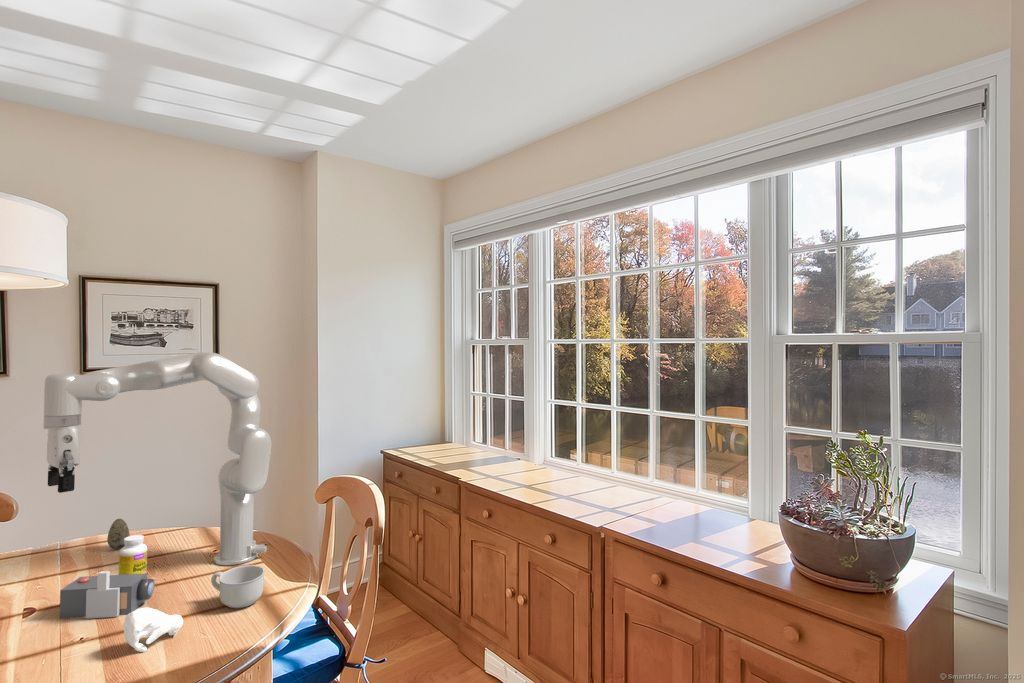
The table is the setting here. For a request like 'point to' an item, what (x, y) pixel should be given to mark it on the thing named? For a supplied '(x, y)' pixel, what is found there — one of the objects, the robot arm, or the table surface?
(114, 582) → the camera body
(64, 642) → the table surface
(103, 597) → the grey t-shaped piece
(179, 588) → the table surface
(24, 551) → the table surface
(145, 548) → the supplement bottle
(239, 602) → the teacup
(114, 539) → the decorative egg
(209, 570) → the table surface
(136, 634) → the white figurine
